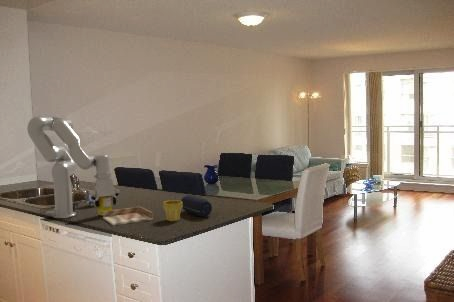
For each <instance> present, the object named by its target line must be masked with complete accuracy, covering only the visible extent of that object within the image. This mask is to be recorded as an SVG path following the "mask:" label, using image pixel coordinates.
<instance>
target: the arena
mask: <svg viewBox="0 0 454 302" xmlns="http://www.w3.org/2000/svg"><path fill="white" fill-rule="evenodd" d="M102 219H103V220H104V221H106V222H108V223H109V224H110V225H112V226H120V225H127V224H133V223H139V222H146V221H152V220H153V221H154V212H153V211H151V210H149V209H147V208H145V207H143V206H141V205H140V206H133V207H127V208H125V207H124V208H119V209H112V210H109V211H103V217H102Z"/></svg>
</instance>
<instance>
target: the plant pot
mask: <svg viewBox="0 0 454 302" xmlns="http://www.w3.org/2000/svg"><path fill="white" fill-rule="evenodd" d="M162 204H163V205H162V207H163V210H164V213H165V217H166V221H169V222H177V220H178V221H179V220H180V218H181V212H182V210H183V208H182V207H183V203H182V201H181V200H179V199H178V200H177V199H174V200H166V201H164V202H163V203H162Z"/></svg>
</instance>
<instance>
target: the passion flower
mask: <svg viewBox="0 0 454 302" xmlns="http://www.w3.org/2000/svg"><path fill="white" fill-rule="evenodd" d="M92 191H93V190H89V191H88V192H89V193H87V194H86V193H84V195H83V199H85V204H89V206H90V207H94V208H97V207H96V206H95V200H94V199H92V198H91V196H90V195H89V194H90V193H91V192H92ZM93 196H94V197H96V194H95V193H94V194H93Z"/></svg>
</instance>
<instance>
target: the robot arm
mask: <svg viewBox="0 0 454 302" xmlns="http://www.w3.org/2000/svg"><path fill="white" fill-rule="evenodd" d="M26 130H27V134H28V137H29V139H31V141H32V143H33V144H34V146H35V147H36V148H37V150H38V151H39V153H40V154H41V156H42V157H43V160H45V161H46V162H48V163H54V165H53V166H52V167H51V177H52V181H53V193H54V208H53V209H52V210H47V211H46V215H52V218H54V219H66V218H67V219H68V218H72V217H75V216H76V215H77V212H76V211H74V209H73V207H74V206H73V204H74V203H73V190H72V189H73V187H72V181H71V180H72V179H71V176H73V175H74V174H75V173H76V171H77V166H78V167H79V168H80V169H82V170H89V169H93V168H95V173H96V174H95V175H93V178H94V179H95V183H94V184H95V185H94V190H91V191H92V192H91V193H90V194H89V193H88V194H89V195H90V196H91V198H92V199H94V200H95V206H96V207H95V208H97V209H98V208H99V202H98V198H99V197H105V196H111V197H112V205H113V206H115V205H116V204H117V197H118V196H119V195H120V192H121V189H119V188H117V187H115V186H114V185H115V184H114V180H113V178H112V177H111V170H110V169H111V167H110V156H109V155H107V154H97V155H96V154H89V155H87V154H86V153H85V151H84V150H83V149H82V147H81V145H80V144H81V139H80V136H79V135H78V134H77V133H76V131H75V130H74V124H73V122H72V120H70V119H69V118H63V117H58V116H57V117H56V116H52V115H51V116H50V115H36V116H34V117H32V118H31V119H30V120H29V121H28V123H27V128H26ZM45 131H50V132H51V131H52V132H55V134H56V135H57V136H58V137H59V138H60V140H61V141H62V142H63V144H64V145H65V146H66V148H67V149H66V148H65V147H64V146H62V145H59V144H54V143H53V140H51V138H50V137H49V135H48V134H46V132H45ZM94 193H95V194H96V197H94V196H93V194H94Z"/></svg>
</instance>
